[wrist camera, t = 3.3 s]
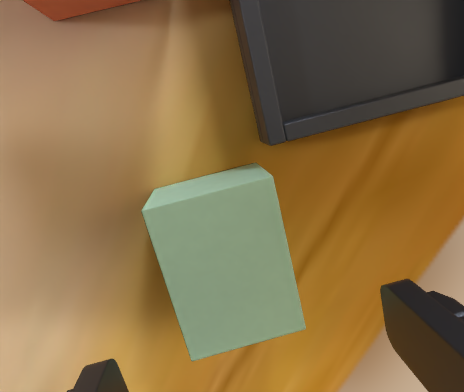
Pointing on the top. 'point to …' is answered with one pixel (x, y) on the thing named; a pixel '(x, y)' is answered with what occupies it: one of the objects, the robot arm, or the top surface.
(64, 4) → the terracotta pad
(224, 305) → the sage pad
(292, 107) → the frame
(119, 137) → the top surface
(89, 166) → the top surface
